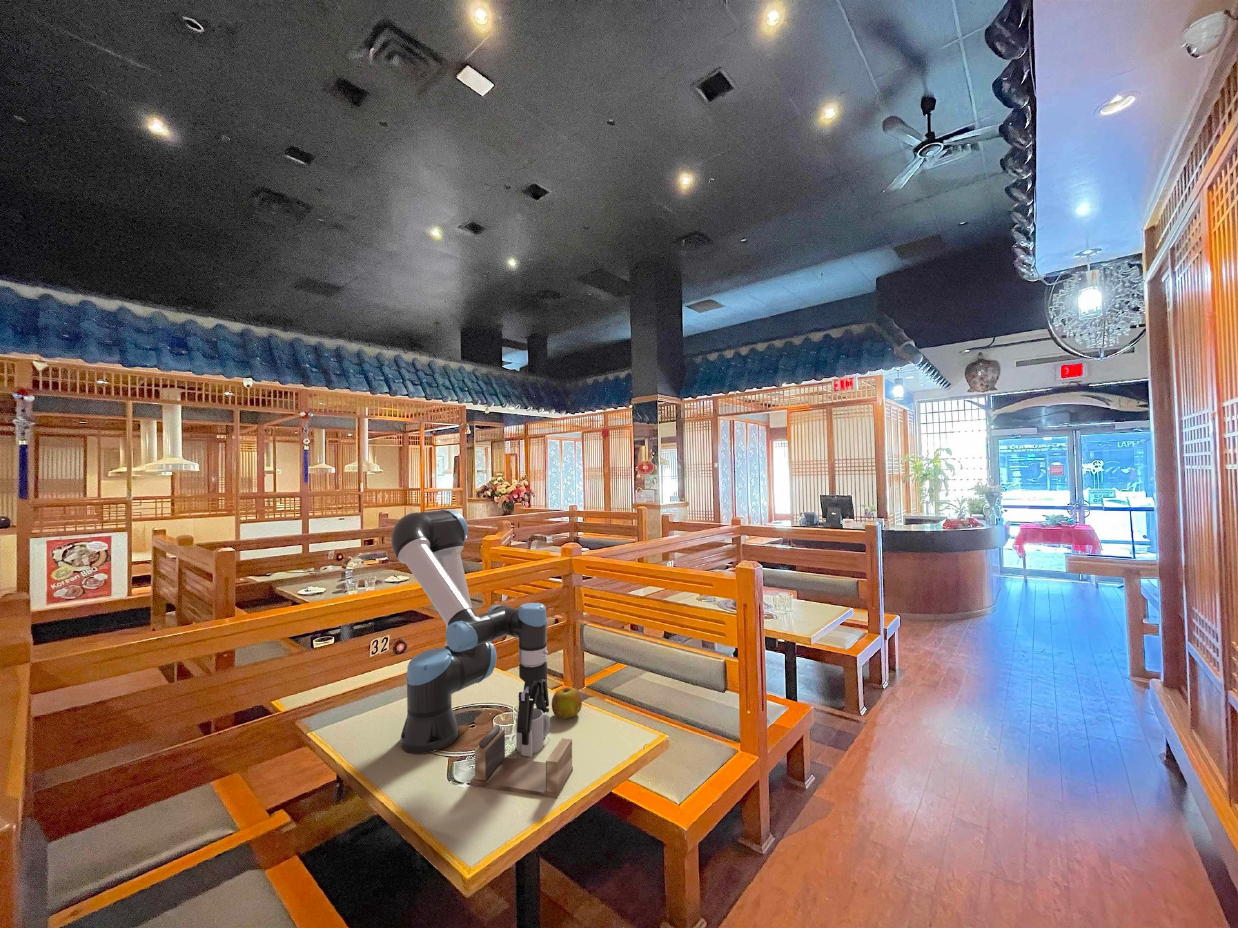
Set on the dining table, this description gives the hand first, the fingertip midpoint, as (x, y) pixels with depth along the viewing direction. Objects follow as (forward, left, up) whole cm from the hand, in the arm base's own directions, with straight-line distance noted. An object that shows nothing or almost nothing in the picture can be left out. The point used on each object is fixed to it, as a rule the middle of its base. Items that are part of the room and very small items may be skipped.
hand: (534, 745), depth 137 cm
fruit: (+3, +18, 0) cm, 18 cm away
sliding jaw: (-6, -13, +1) cm, 15 cm away
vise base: (+3, -13, 0) cm, 14 cm away
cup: (0, 0, 0) cm, 1 cm away
